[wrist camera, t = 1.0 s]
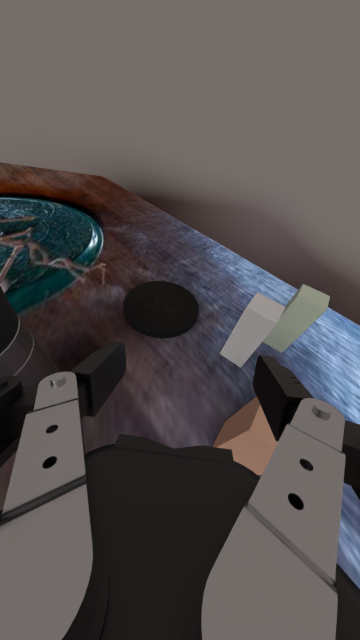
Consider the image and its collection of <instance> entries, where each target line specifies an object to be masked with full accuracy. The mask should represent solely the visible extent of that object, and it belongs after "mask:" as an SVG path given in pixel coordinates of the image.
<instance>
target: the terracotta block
mask: <svg viewBox="0 0 360 640" xmlns="http://www.w3.org/2000/svg"><path fill="white" fill-rule="evenodd" d="M277 443H278V441H276V440H275V438H274V436H273V433H272V431H271V429H270V426H269V424H268V421H267V419H266V417H265V414H264V412H263V410H262V407H261V405H260V403H259V400H258V398H257V397H255V398H254V399H253V400H252V401H250V402H249V403H248V404H247V405H245V406H244V407H243V408H242V409H240V410H239V411H238V412H236V413H235V414H234V415H233V416H231V417H230V418H229V419H228V420H226V421H225V423H224V425H223V427H222V429H221V431H220V433H219V434H218V436H217V438H216V440H215V442H214V444H213V446H212V447H217V448H224V449H232V454H233V460H234V461H236V462H238V463H240V464H242V465H244V466H245V467H247V468H249V469H250V470H252V471H253V472H254V473H255V474H257V475H262V474H263V472H264V470H265V468H266V466H267V464H268V462H269V460H270V458H271V456H272V454H273V452H274V450H275V448H276V446H277Z"/></svg>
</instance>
